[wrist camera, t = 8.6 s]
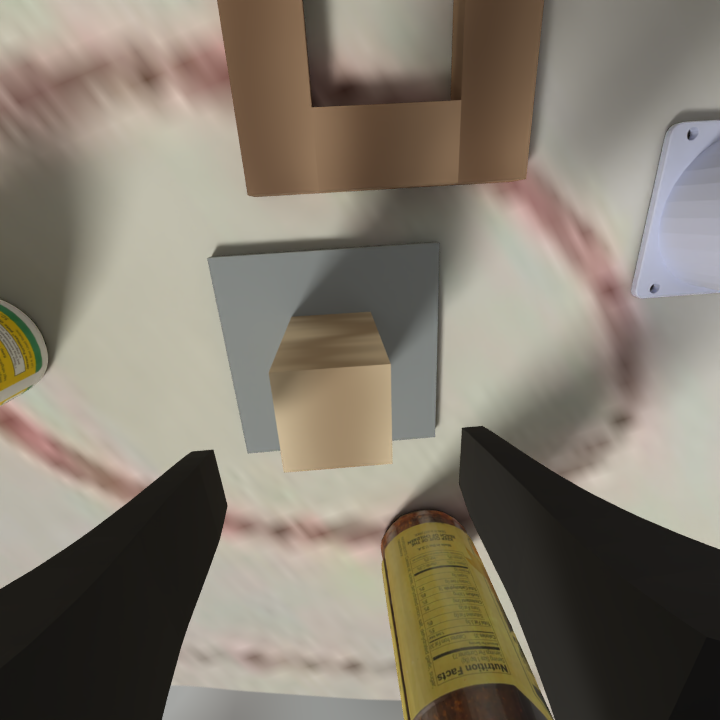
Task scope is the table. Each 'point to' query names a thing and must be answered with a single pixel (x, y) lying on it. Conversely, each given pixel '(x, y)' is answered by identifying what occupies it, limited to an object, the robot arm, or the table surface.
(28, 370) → the supplement bottle
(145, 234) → the table surface
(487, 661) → the sauce bottle
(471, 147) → the brown wooden square frame
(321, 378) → the beech block
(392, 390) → the grey square plate
